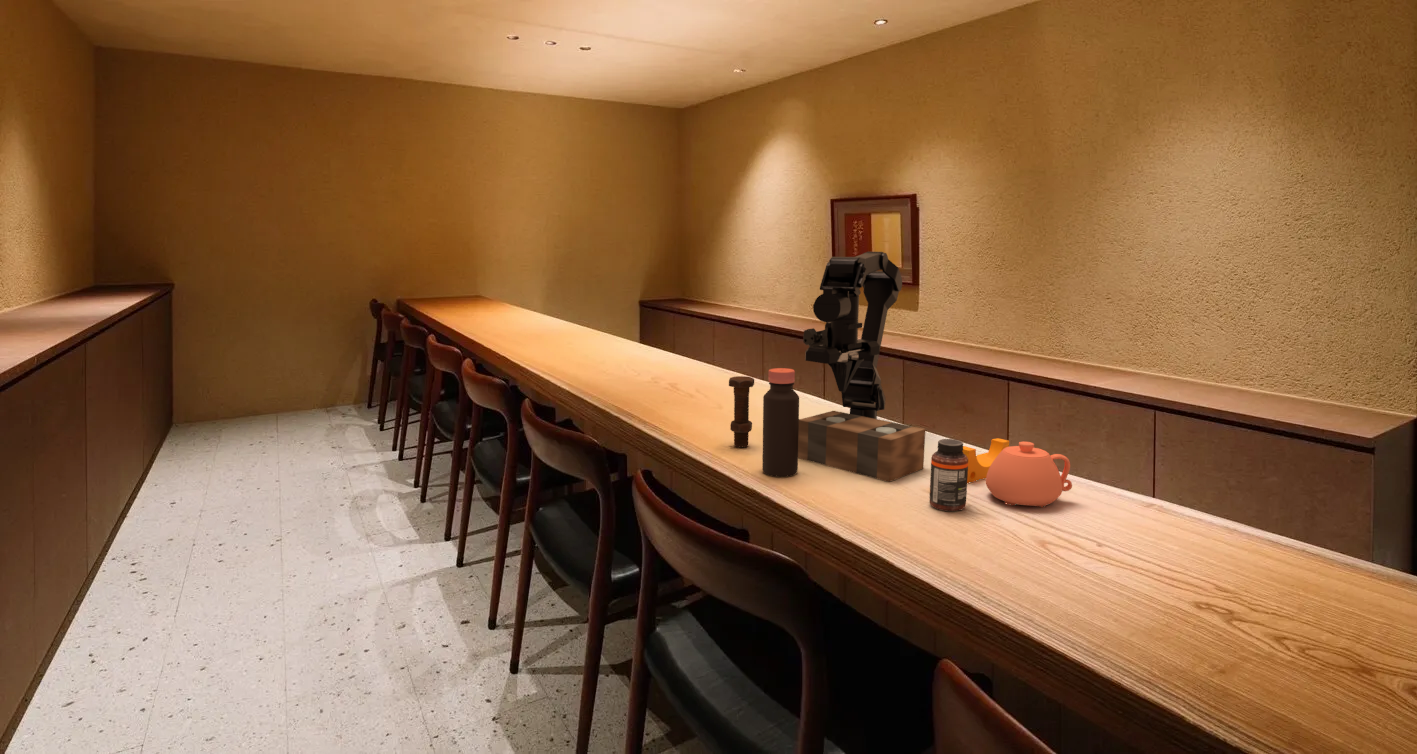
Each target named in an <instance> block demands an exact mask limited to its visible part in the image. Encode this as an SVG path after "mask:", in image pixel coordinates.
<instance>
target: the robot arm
mask: <svg viewBox="0 0 1417 754" xmlns="http://www.w3.org/2000/svg"><path fill="white" fill-rule="evenodd" d="M900 271H901V270H900V269H899V267H898V266H897V265H896V264H895V263H893V262H892V261H891V260H890V259H889V257H888V254H887V252H884V251H866V252H863V253H862V254H859V255H856V256H831V257H830V258H829V260H828V262H827V263H826V266H825V269H824V272H823V276H822V279H821V282H820V285H819V290H820V291H822V293H821V294H820V295H818V296H817V297H816V298H815V300H814V301H813V302H814V303H813V305H812V309H813V313H814V315H815V317H816V318H817V320H819V321H821V322H822V323H825V324H824V329H823V330H818V331H817V330H816V329H815V328H814V327H813V328H808V329H804V330H803V340H802V341H803V344H805V346H808V348H807V349H805V352H804V353H805V354H804V361H805V362H806V361H807V362H813V363H819V364H827V365H828V366H829V367H830V368H831V369H830V370H832V373H833V377H834V379H835V382H836V386H837V389H838V391H839V392H841V400H842V402H841V403H842V408H849V414H853V415H858V416H863V417H868V418H873V419H878V412H879V411H884V410H885V406H886V396H885V393H884V390H883V387H882V379H881V377H880V374H879V371H878V369H877V367H878V362H879V356H880V353H881V347H882V342H883V335H884V331H885V326H886V321H887V316H888V310H889V309H890V308H891V307H892V306H893V305H894V304H895V303H896V302H897V300H898V297H899V293H900V292H901V291H902V287H903V278H902V275H901V272H900ZM861 288H863V292H862V293H863V295H864V296H865V300H866V301H867V302H866V303H867V308H866V312H865V318H864V323H863V322H859V307H860V295H861V290H860V289H861ZM861 328H862V331H861V338H860V339H858V336H859V329H861Z"/></svg>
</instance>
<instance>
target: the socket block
mask: <svg viewBox="0 0 1417 754" xmlns="http://www.w3.org/2000/svg"><path fill="white" fill-rule="evenodd" d="M828 417H842V418H844V419H845V421H843V422H840V423H836V422H831V421H826V418H828ZM878 427H890V428H894V429H896V432H894V433H891V434H887V433H883V432H878V431H876V428H878ZM925 445H926V428H923V427H917V426H912V425H907V424H903V423H897V422H892V421H888V420H882V419H878V418H877V419H873V418H868V417H863V416H858V415H853V414H850V413H848V412H847V413H846V412H843V411H838V410H830V411H826V412H823V413H819V414H815V415H811V416H808V417H802V418H799V434H798V459H801V460H804V461H807V462H808V461H809V462H813V463H817V464H820V465H823V466H828V467H830V468H831V467H832V468H833V469H834V468H835V469H838V470H842V471H845V472H849V471H850V472H849V473H853V474H858V475H861V476H865V477H869V478H873V479H876V480H880V481H884V482H888V483H890V482H892V481H895V480H898V479H900V478H903V477H905V476H909V475H910V474H913V473H916V472H918V471H921V470H923V469H924V464H925V463H924V461H925V460H924V459H925Z"/></svg>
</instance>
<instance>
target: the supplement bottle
mask: <svg viewBox="0 0 1417 754" xmlns="http://www.w3.org/2000/svg"><path fill="white" fill-rule="evenodd" d="M963 446H964V442H963V441H962V440H959V439H953V438H942V439H939V440H938V442H937V451H935V452H933V454H932V455H931V459H930V460H931V461H930V481H929V483H930V484H929V497H928V498H929V504H930V505H929V506H931V507H933V508H934V509H937V510H940V511H944V512H956V511H961V510H963V509H965V508H966V506H967V505H966V504H967V492H968V491H967V489H968V484H967V477H968V457H967V456H966V455H965V454H964V453H963Z"/></svg>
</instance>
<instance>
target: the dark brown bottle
mask: <svg viewBox="0 0 1417 754" xmlns="http://www.w3.org/2000/svg"><path fill="white" fill-rule="evenodd" d="M795 375H796V371H795V370H794V369H793V368H784V367H777V368H769V369H768V384H769V386H770V387H769V389H768V390H767V392H766V393H765V394H764V395H763V400H762V401H763V404H762V405H763V406H762V467H761V468H762V472H763V473H764V474H765V475H767V476H769V477H770V476H771V477H776V478H787V477H791V476H794V475H797V473H798V470H799V466H798V465H799V458H798V434H799V419H800V396H799V395H798V393H797V392H796V391H795V390H794V389H793V388H794V385H795V383H796V381H795V377H796V376H795Z"/></svg>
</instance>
